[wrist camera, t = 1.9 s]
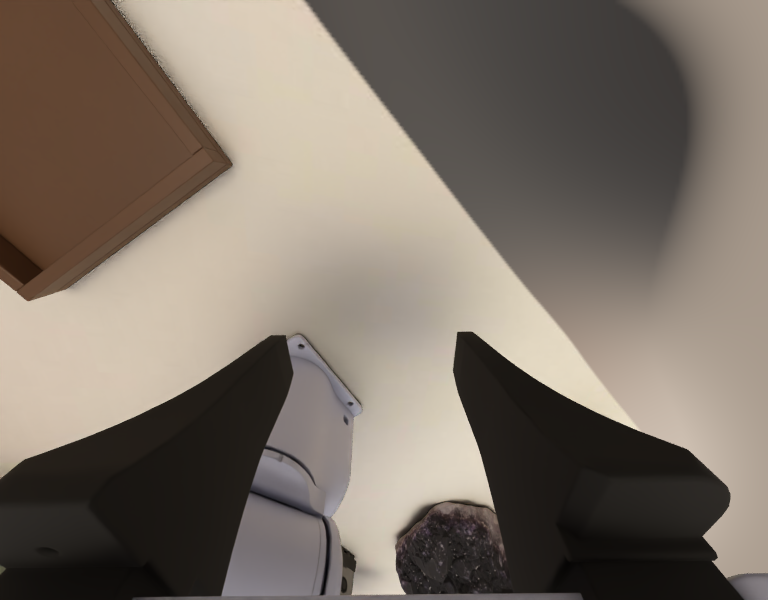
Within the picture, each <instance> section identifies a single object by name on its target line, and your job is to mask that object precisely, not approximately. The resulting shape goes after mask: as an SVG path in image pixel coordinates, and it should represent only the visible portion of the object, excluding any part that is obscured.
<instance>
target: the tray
mask: <svg viewBox="0 0 768 600" xmlns="http://www.w3.org/2000/svg"><path fill="white" fill-rule="evenodd" d="M231 166H232V163H231V162H230V161H229V159H228V158H227V156H226V155H225V154H224V152H223V151H222V150H221V148H220V147H219V146H218V144H217V143H216V142H215V140H214V139H213V138H212V136H211V135H210V134H209V132H208V131H207V130H206V128H205V127H204V126H203V124H202V123H201V122H200V120H199V119H198V118H197V116H196V115H195V113H194V112H193V111H192V109H191V108H190V107H189V105H188V104H187V103H186V101H185V100H184V99H183V97H182V96H181V95H180V93H179V92H178V91H177V89H176V88H175V87H174V85H173V84H172V83H171V81H170V80H169V79H168V77H167V76H166V75H165V73H164V72H163V70H162V69H161V68H160V66H159V65H158V64H157V62H156V61H155V60H154V58H153V57H152V56H151V54H150V53H149V52H148V50H147V49H146V48H145V46H144V45H143V44H142V42H141V41H140V40H139V38H138V37H137V36H136V34H135V33H134V32H133V30H132V29H131V27H130V26H129V25H128V23H127V22H126V21H125V19H124V18H123V17H122V15H121V14H120V13H119V11H118V10H117V9H116V7H115V6H114V5H113V3H112V2H111V1H110V0H0V279H1V280H2V281H4V282H5V283H6V284H7V285H9V286H10V287H11V288H12V289H13V290H15V291H17V293H18V294H19V295H21V296H22V297H23V298H24V299H26V300H27V301H31V300H34V299H37V298H40V297H43V296H47V295H50V294H53V293H55V292H59V291H62V290H65V289H67V288H68V287H69V286H71V285H72V284H74V283H75V282H76V281H78V280H79V279H80V278H82V277H83V276H84V275H86V274H87V273H88V272H90V271H91V270H92V269H94V268H95V267H96V266H98V265H99V264H100V263H102V262H103V261H104V260H106V259H107V258H108V257H110V256H111V255H113V254H114V253H115V252H117V251H118V250H119V249H121V248H122V247H123V246H125V245H126V244H127V243H129V242H130V241H131V240H133V239H134V238H135V237H137V236H138V235H139V234H141V233H142V232H143V231H145V230H146V229H147V228H149V227H150V226H152V225H153V224H154V223H156V222H157V221H158V220H160V219H161V218H162V217H164V216H165V215H166V214H168V213H169V212H170V211H172V210H173V209H174V208H176V207H177V206H178V205H180V204H181V203H182V202H184V201H185V200H186V199H188V198H189V197H191V196H192V195H193V194H195V193H196V192H197V191H199V190H200V189H201V188H203V187H204V186H205V185H207V184H208V183H209V182H211V181H212V180H213V179H215V178H216V177H217V176H219V175H220V174H221V173H223V172H224V171H225V170H227V169H228V168H230V167H231Z"/></svg>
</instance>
